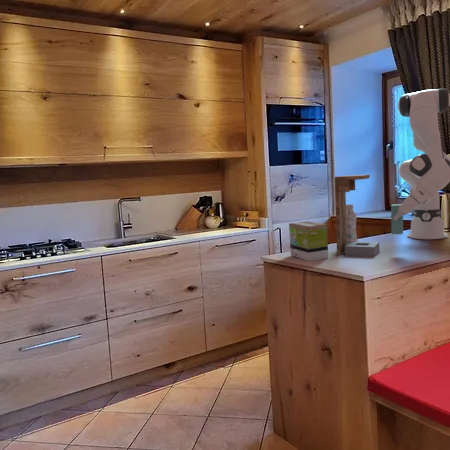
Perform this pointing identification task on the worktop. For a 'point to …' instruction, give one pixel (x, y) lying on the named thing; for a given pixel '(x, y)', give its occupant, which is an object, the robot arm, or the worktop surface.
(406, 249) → the worktop surface
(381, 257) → the worktop surface
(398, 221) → the peg
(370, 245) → the socket block
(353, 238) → the plastic bottle
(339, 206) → the wooden post stand
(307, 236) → the tea box
